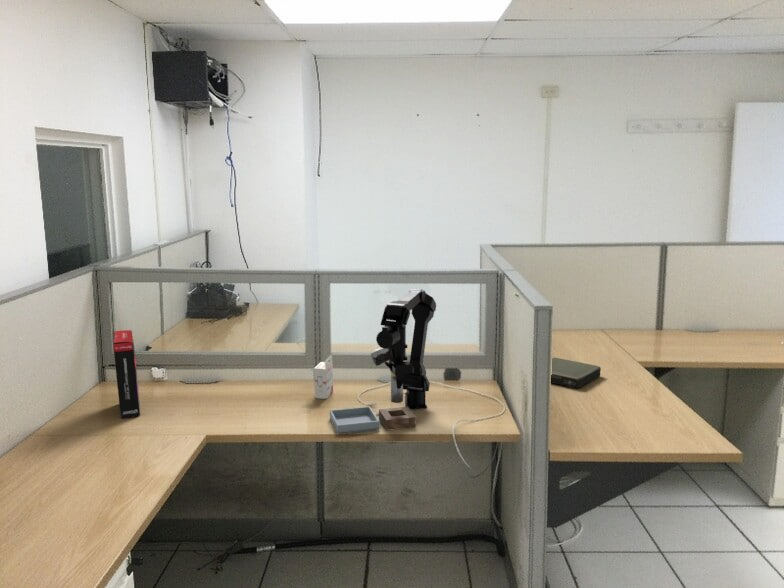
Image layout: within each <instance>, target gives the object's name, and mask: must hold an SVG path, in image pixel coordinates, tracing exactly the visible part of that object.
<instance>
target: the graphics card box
mask: <svg viewBox="0 0 784 588" xmlns="http://www.w3.org/2000/svg"><path fill="white" fill-rule="evenodd" d="M133 335H134V334H133V330H131V329H130V330H129V329H128V330H124V329H123V330H113V332H112V346H113V347H112V348H113V356H114V366H115V376H116V385H117V386H116V387H117V395H118V404H119V412H120V418H121V419H125V418H132V417H133V418H134V417H140V416H141V405H140V392H139V381H138V371H137V362H136V361H137V360H136V352H135V344H134V342H135V340H134V336H133Z"/></svg>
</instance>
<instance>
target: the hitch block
mask: <svg viewBox="0 0 784 588" xmlns="http://www.w3.org/2000/svg"><path fill="white" fill-rule="evenodd" d="M378 419H379V421H380V423H381V425H382V426H383V428H384V429H385V430H386V431H392V430H391V429H394V430H398V429H399V430H402V429H403V430H404V429H411V428H416V427H417V425H416V423H417V421H416V419H417V417H416V415H414V413H413V412H412V411H411V409H409V407H408V406H401V407H390V408H389V407H388V408H379V409H378Z"/></svg>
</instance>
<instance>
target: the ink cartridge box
mask: <svg viewBox="0 0 784 588" xmlns="http://www.w3.org/2000/svg"><path fill="white" fill-rule="evenodd" d="M333 364H334V363H333V356H332V354H331V355H329V356H328V357H327V358H326V359H325V360H324V361H320V362H319V363H318V364H317V365H316V366H315V367H314V368H313V379H314V398H315V399H322V400H323V399H324V400H327V399H328V398H329V397H330V396H331V394H333V393H334V370H333V369H334V368H333V367H334V366H333Z"/></svg>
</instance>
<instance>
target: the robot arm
mask: <svg viewBox="0 0 784 588" xmlns="http://www.w3.org/2000/svg"><path fill="white" fill-rule="evenodd" d="M436 310H437V303H436V301H435V299H434V297H432V296H431V295H430V294H428V293H426V291H425V290H423V289H421V288H420V289H419V288H416V289H415V288H411V289H409V291H408V293H406V294H405V295H404V296H403V297H401V299H399V300H394V301H389V302H388V303H387V304H386V306H384V310H383V314H382V317H381V321H380V326H382V327H381V331H379V332H378V333H377V335H376V338H375V340H376V344H377V345H378V346H379V347H380V349H378V350H376V351H374V352H372V353H370V357H371V359H372V362H373V364H374V365H375V366H376V367H378V366H381V365H382V364H384V365H386V367H388V368H389V371H390V373H391V371H392V372H393V373H394V374H395V379H396V385H397V389H400V388H401V386H402V384H403V391H404V390H406V392H405V393H404V403H405V405H406V407H408V408H409V410H413V409H414V410H415V409H423V408H424V409H425V408H428V405H427V404H426V394H427V393H426V392H429V391H430V386H431V385H430V381H429V379H428V377H427V370H426V367H425V365H424V357H425V356H424V355H425V350H426V349H425V348H426V340H427V334H428V325H429V323H430V321H431V320H432V319H433V318H434V314H435V312H436ZM410 315H412V317H413V320H414V326H413V333H412V340H411V341H412V343H411V349H410V357H409V361H408V356H406V355H407V353H406V349H408V344H407V343H406V341H407V339H406V338H407V335H406V333H407V332H406V331H407V330H406V328H407V325H408V321H409V318H410Z"/></svg>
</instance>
